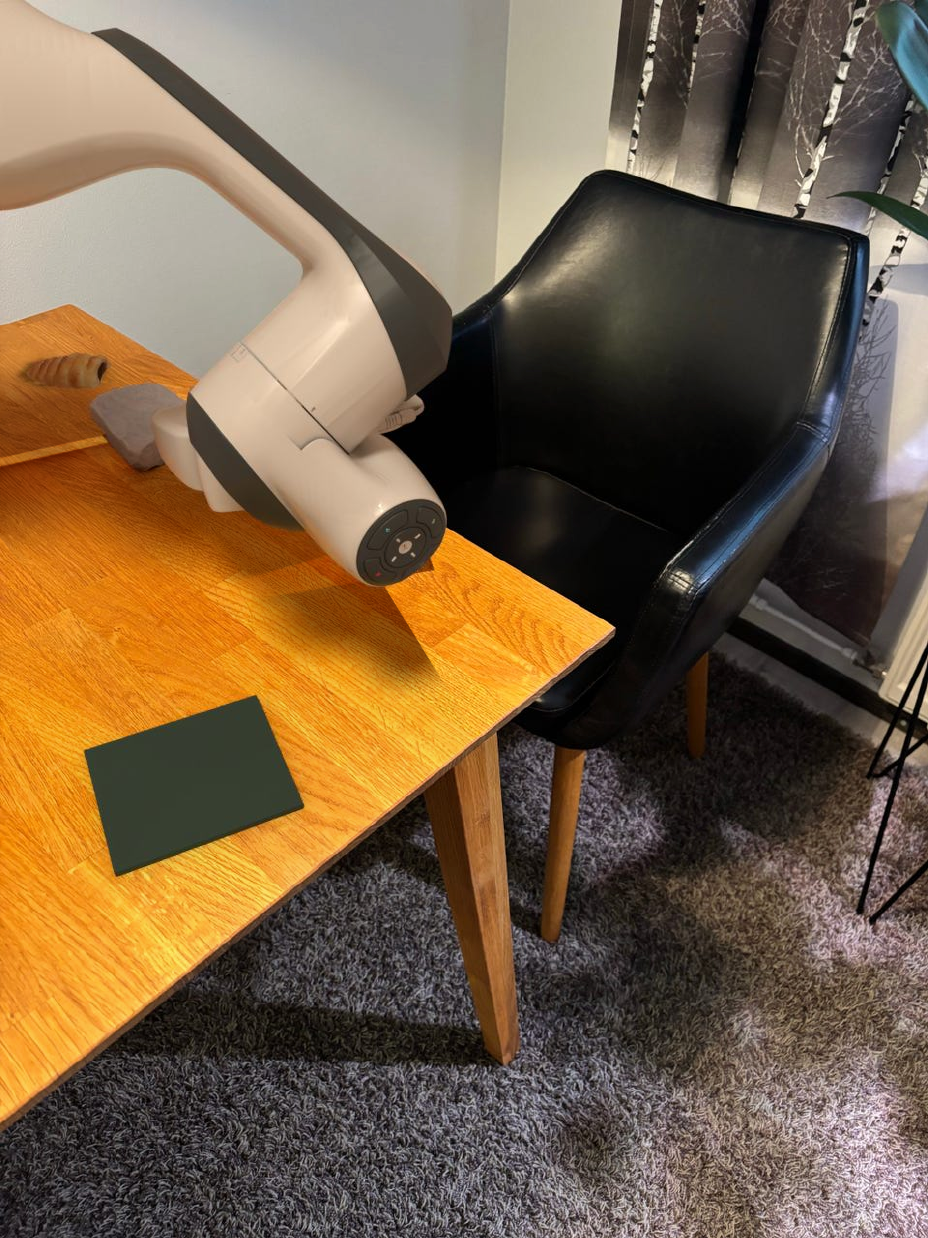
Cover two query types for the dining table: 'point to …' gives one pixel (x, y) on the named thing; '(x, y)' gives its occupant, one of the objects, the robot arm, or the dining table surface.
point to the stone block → (133, 420)
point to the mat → (189, 783)
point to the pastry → (70, 370)
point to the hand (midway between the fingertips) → (252, 379)
